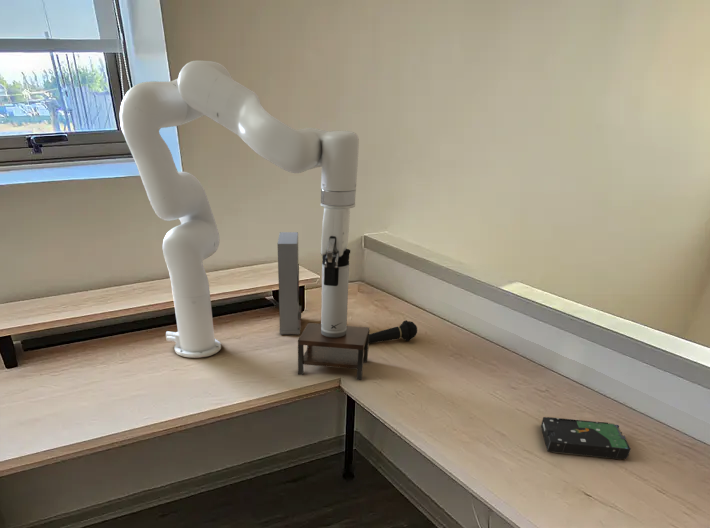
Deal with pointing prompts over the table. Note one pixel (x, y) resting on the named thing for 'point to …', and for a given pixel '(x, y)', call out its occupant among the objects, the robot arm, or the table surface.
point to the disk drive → (584, 438)
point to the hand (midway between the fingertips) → (334, 279)
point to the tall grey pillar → (289, 283)
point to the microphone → (395, 333)
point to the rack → (333, 348)
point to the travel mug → (335, 300)
